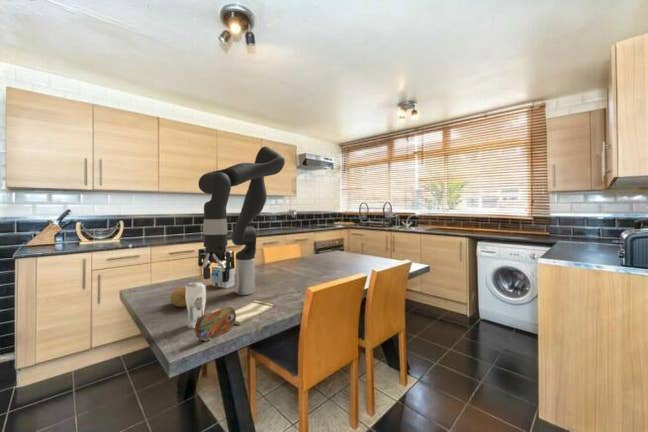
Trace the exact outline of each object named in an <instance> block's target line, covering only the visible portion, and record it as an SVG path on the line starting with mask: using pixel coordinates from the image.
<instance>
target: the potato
mask: <svg viewBox="0 0 648 432" xmlns="http://www.w3.org/2000/svg"><path fill="white" fill-rule="evenodd" d="M185 294H186V285H182V286H178V287H176V288H175V289H174V290H173V292H171V295H170V303H171V304H172V305H174V306H175V307H178V308H179V307H181V308H183V307H187V306H186V298H185Z"/></svg>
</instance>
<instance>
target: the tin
mask: <svg viewBox="0 0 648 432" xmlns="http://www.w3.org/2000/svg"><path fill="white" fill-rule="evenodd" d="M235 320H236V313H235V309H234V308H233V307H231V306H222V307H219V308H217V309H214V310H211V311H209V312H206V313H204V315H202V316H201V317H200V318H199V319H198V321H197V322H196V325H195V328H194V333H195V336H196V338H197V339H199V340H202V341H204V342H208V340H209V341H211V340H210V339H212V340H213V338H214V339H215V338H217V337H219V336H221V335H223V334H225V333H227V332H229V331H231V329H232V328H233V327H234V325H235V324H234V323H235Z"/></svg>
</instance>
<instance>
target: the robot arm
mask: <svg viewBox="0 0 648 432" xmlns="http://www.w3.org/2000/svg"><path fill="white" fill-rule="evenodd" d="M285 162H286V159H285V157H284V156H283V155H282V154H281V153H279V152H278V151H276V150H273V148H270V147H269V146H262V147H261V148H260V149H259V150H258V152H257V154H256V156H255V159H254V162H241V163H240V162H239V163H237V164H234V165H231V166H229V167H227V168H224V169H218V170H215V171H210V172H206V173H203V175H201V176H200V178H199V180H198V183H197V184H198V188H199V190H200V191H201V192H202V193H204V194H206V195H207V194H208V195H211V198H210V200H209V201H206V202H205V203H204V205H203V225H202V230H203V231H202V232H203V233H202V234H203V235H202V236H203V239H202V240H203V247H204V248H198V251H197V253H198V255H197V257H198V258H197V260H198V261H197V265H198V266H199V267H201V268H202V276H203V280H210V279H211V267H212V266H211V265H212V264H213V263H214V264H217V265H219V266H220V267H221V268H222V270H223V271H222V282H224V283H225V282H228V281H229V279H230V278H229V271H230V270H231V269H234V268H235V274H234V287H233V288H234V290H233V291H234V293H235V294H236V295H238V296H247V295H252V294H254V293H255V292H256V260H255V259H256V257H255V256H256V253H257V252H256V251H257V231H256V228H255V227H254V226H252V225H249V224H250V223H251V222H252V221H253V220H254V219H255V218H256V217H258V216H259V214H260V213H261V212H262V211H263V209H264V207H265V205H266V201H267V189H266V184H265V177H268V176H269V177H270V176H274V175H278V174H279V173H280V172H281V171H282V170H283V168H284V167H285V164H286V163H285ZM249 181H250V182H249ZM247 182H249V185H248V188H247V191H246V194H245V196H244V199H243V203H242V207H241V209H240V214H239V215H238V218H237V220H236V223H235V224H234V227H233V229H232V233H231V241H232V243H233V245H235V246H244V248H242V249H241V250H239V251H237V252H236V253H235V252H234V250H228V251H227V246H228V243H229V242H228V221H227V220H228V219H227V206H228V202H229V198H230V194H231V189H232V187H236V186H239V185H241V184H244V183H247ZM248 225H249V226H248ZM224 265H225V266H226V267H225V266H224ZM230 265H231V266H230Z"/></svg>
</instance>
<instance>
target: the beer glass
mask: <svg viewBox="0 0 648 432" xmlns="http://www.w3.org/2000/svg"><path fill="white" fill-rule="evenodd" d="M206 284H207V283H205V282H203V281H197V282H189V283H187V284H186V285H185V286H186V294H185V298H186V306H185V307H186V311H187V314H188V315H187V316H188V318H187V324H186V326H187V328H188V329H194V330H195V325H196V322H197V321H198V319H199V318H200V317H201V316H202V315H204V314H205V310H206V305H207V285H206Z"/></svg>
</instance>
